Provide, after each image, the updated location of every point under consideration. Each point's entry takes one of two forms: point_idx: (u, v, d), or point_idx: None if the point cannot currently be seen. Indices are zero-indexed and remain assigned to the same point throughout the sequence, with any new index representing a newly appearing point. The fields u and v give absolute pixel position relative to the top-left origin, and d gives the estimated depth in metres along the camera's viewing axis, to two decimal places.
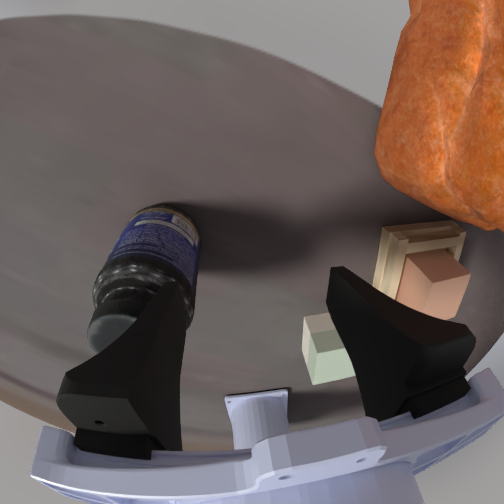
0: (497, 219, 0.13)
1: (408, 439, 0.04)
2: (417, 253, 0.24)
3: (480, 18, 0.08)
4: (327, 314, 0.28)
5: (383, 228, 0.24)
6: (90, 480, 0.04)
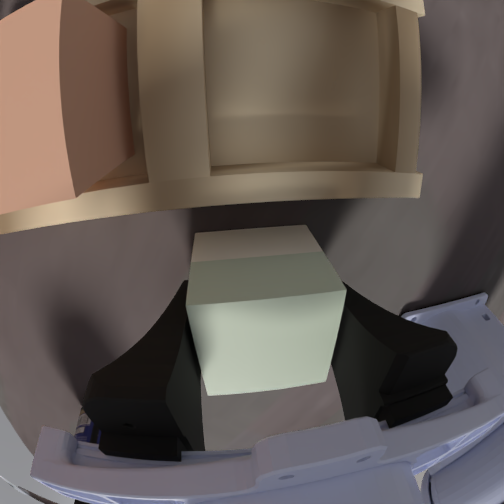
0: None
1: (408, 439, 0.04)
2: None
3: None
4: None
5: None
6: (90, 480, 0.04)
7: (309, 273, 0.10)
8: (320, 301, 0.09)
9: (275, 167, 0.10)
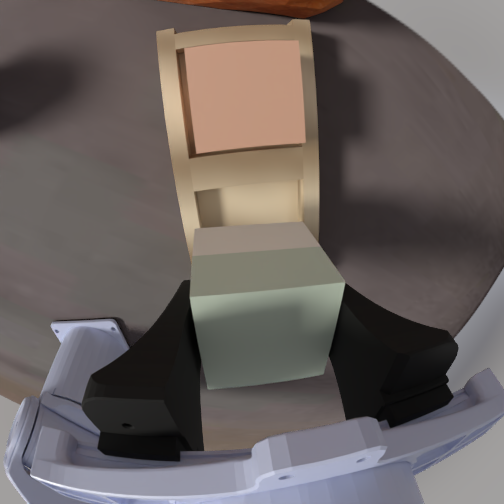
0: None
1: (408, 439, 0.04)
2: None
3: None
4: None
5: None
6: (90, 480, 0.04)
7: (308, 266, 0.10)
8: (320, 293, 0.09)
9: (199, 221, 0.18)
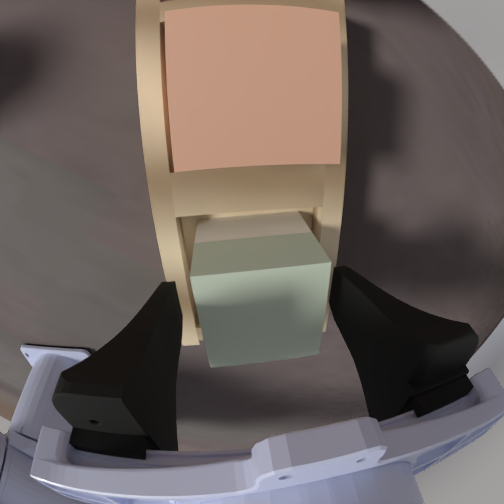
0: None
1: (408, 439, 0.04)
2: None
3: None
4: None
5: None
6: (90, 480, 0.04)
7: (298, 249, 0.11)
8: (308, 272, 0.10)
9: (183, 254, 0.14)
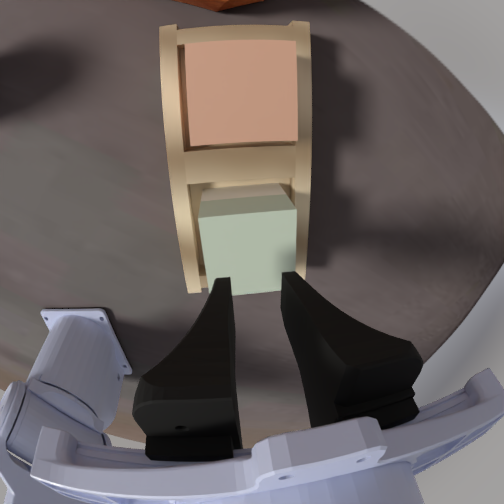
0: None
1: (408, 439, 0.04)
2: None
3: None
4: None
5: None
6: (90, 480, 0.04)
7: (274, 203, 0.16)
8: (280, 216, 0.15)
9: (191, 214, 0.18)
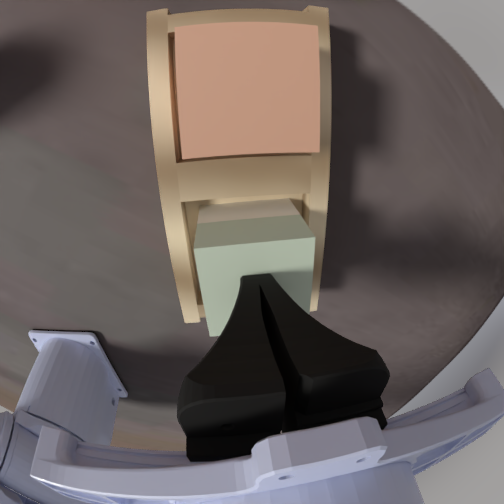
0: None
1: (408, 439, 0.04)
2: None
3: None
4: None
5: None
6: (90, 480, 0.04)
7: (287, 227, 0.13)
8: (295, 246, 0.12)
9: (187, 236, 0.16)
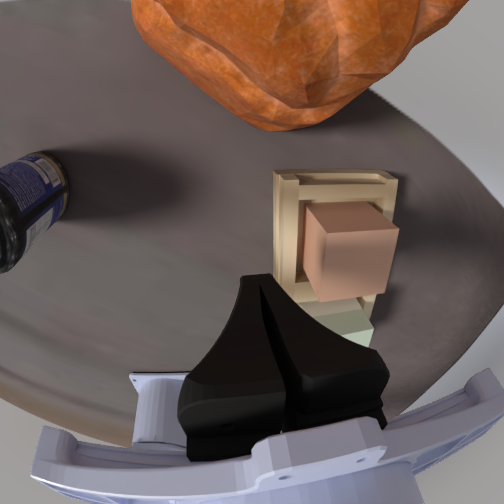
0: None
1: (408, 439, 0.04)
2: (324, 204, 0.20)
3: None
4: None
5: (274, 172, 0.20)
6: (90, 480, 0.04)
7: (358, 321, 0.22)
8: (363, 333, 0.21)
9: None
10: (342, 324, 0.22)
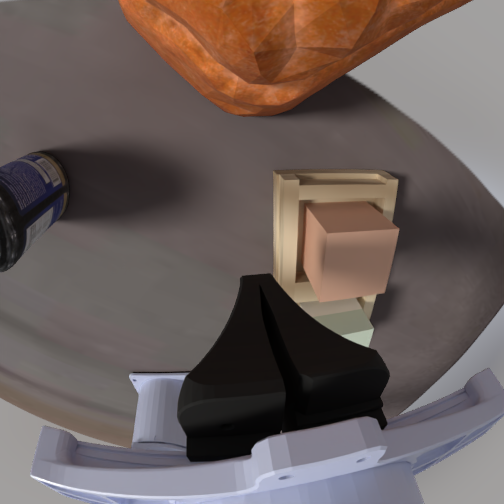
0: None
1: (408, 439, 0.04)
2: (324, 205, 0.20)
3: None
4: None
5: (274, 172, 0.20)
6: (90, 480, 0.04)
7: (358, 321, 0.22)
8: (363, 333, 0.21)
9: None
10: (342, 324, 0.22)
